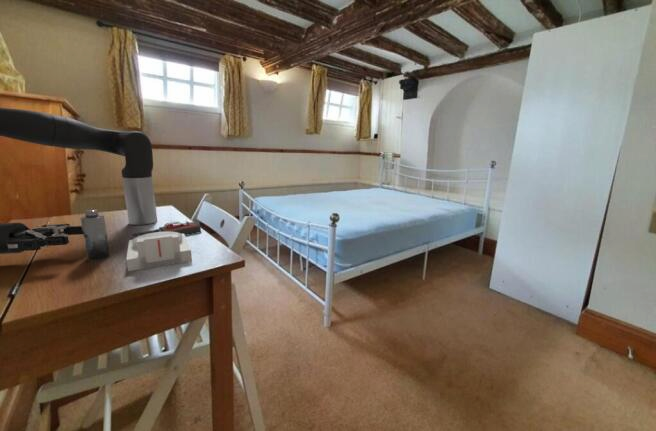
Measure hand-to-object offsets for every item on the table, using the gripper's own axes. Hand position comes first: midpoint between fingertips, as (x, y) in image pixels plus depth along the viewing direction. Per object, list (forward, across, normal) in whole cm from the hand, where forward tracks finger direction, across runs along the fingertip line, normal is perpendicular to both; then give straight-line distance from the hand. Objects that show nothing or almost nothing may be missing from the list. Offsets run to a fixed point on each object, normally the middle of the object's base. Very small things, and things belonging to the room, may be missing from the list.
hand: (76, 234), depth 75 cm
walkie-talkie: (+18, +18, +7) cm, 26 cm away
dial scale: (+19, -2, +6) cm, 20 cm away
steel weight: (+4, 0, +6) cm, 8 cm away
